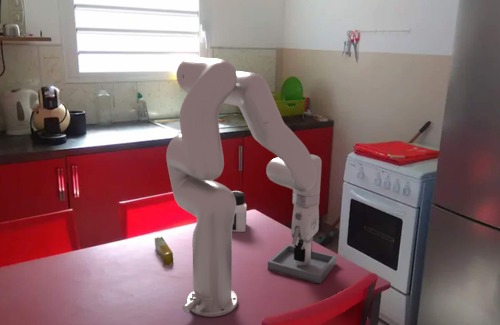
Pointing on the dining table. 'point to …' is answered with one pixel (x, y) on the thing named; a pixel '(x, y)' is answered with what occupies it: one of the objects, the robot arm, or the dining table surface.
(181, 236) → the dining table surface
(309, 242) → the mushroom
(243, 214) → the container
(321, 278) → the tray
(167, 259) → the medication box
